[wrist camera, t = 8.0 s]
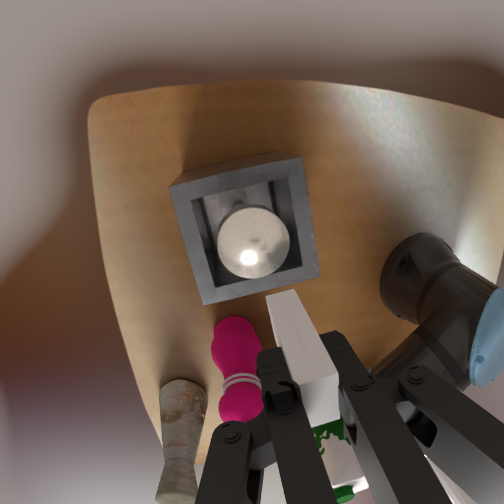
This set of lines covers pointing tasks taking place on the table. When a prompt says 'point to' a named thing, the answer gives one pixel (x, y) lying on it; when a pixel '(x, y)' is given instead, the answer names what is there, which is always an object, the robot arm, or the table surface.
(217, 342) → the pepper mill
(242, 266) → the plunger
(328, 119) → the table surface
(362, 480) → the milk carton
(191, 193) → the tower
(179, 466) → the bottle
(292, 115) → the table surface
